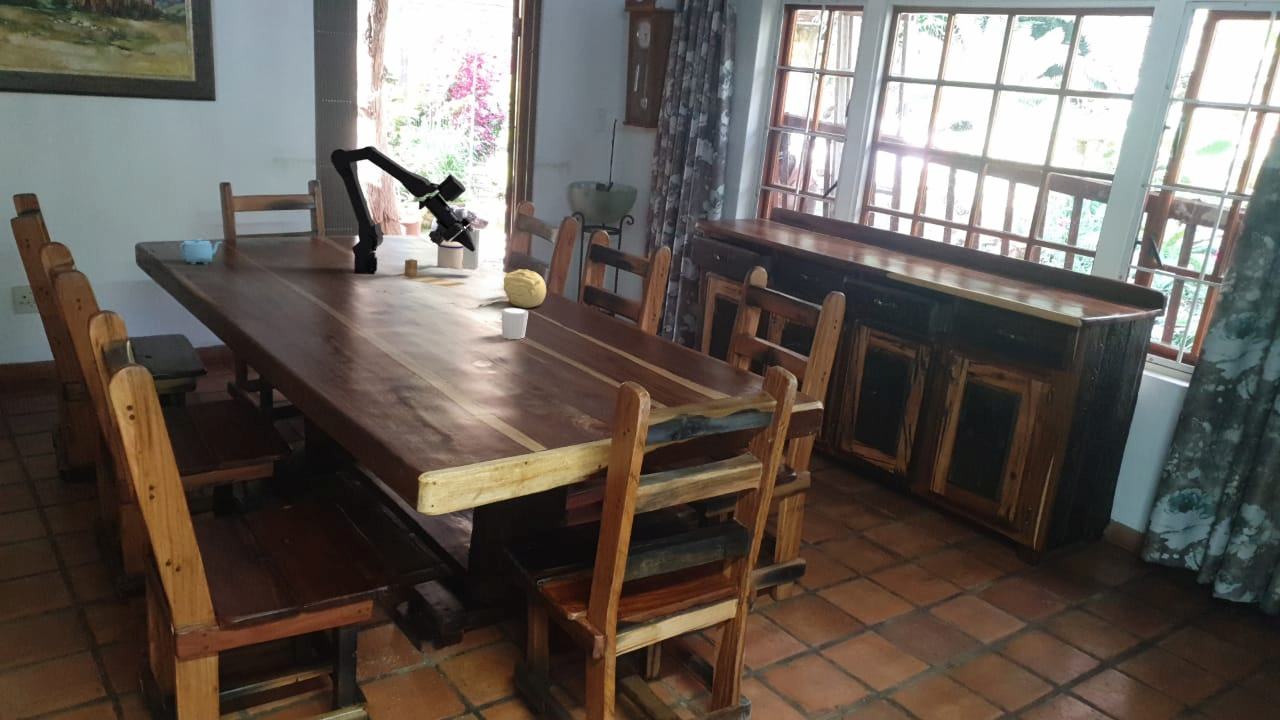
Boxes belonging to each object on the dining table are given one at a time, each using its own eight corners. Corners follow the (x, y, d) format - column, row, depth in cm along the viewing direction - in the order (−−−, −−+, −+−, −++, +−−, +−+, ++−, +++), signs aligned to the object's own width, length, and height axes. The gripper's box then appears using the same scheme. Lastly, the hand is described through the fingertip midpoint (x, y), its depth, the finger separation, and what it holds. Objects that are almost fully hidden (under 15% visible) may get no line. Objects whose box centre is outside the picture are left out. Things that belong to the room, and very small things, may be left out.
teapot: (221, 260, 294) (220, 237, 292) (224, 264, 290) (223, 240, 287) (179, 261, 288) (178, 237, 286) (181, 265, 283) (180, 240, 281)
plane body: (395, 281, 288) (396, 260, 286) (412, 277, 296) (412, 257, 294) (452, 292, 280) (453, 271, 279) (468, 288, 288) (468, 267, 286)
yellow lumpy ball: (497, 305, 270) (498, 268, 267) (519, 298, 281) (521, 263, 278) (530, 312, 266) (532, 275, 263) (552, 305, 276) (554, 269, 273)
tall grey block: (462, 268, 295) (464, 228, 291) (465, 265, 299) (467, 225, 296) (474, 269, 295) (476, 229, 291) (477, 267, 299) (479, 227, 296)
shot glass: (505, 341, 234) (506, 314, 232) (496, 333, 240) (497, 307, 238) (530, 340, 237) (532, 313, 235) (521, 332, 243) (522, 306, 241)
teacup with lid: (468, 272, 312) (470, 237, 309) (443, 273, 307) (445, 238, 303) (452, 265, 321) (453, 231, 318) (428, 266, 316) (429, 232, 312)
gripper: (429, 223, 302) (461, 260, 306) (416, 232, 284) (450, 270, 288) (454, 201, 300) (487, 239, 304) (443, 208, 283) (477, 248, 286)
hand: (475, 249), depth 295 cm, fingers closed on tall grey block, 5 cm apart
